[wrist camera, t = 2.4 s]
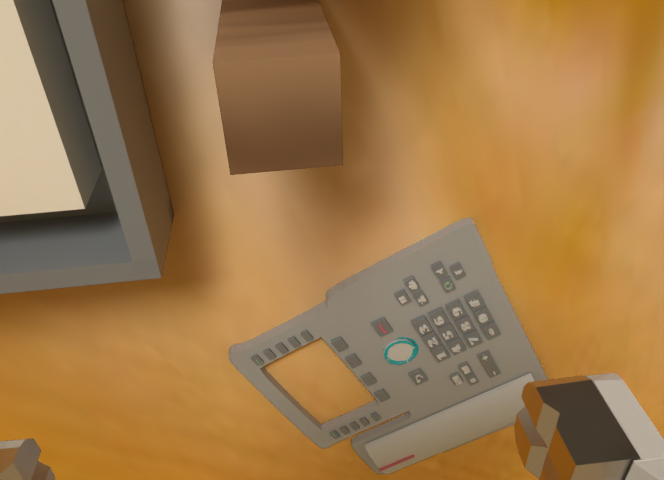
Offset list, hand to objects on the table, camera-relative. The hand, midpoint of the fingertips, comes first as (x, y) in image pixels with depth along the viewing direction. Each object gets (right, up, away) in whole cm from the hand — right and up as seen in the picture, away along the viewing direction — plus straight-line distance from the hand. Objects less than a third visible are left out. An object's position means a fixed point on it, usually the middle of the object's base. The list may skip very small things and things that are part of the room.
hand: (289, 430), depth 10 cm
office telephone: (+6, -7, +37) cm, 38 cm away
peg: (-2, +14, +19) cm, 24 cm away
